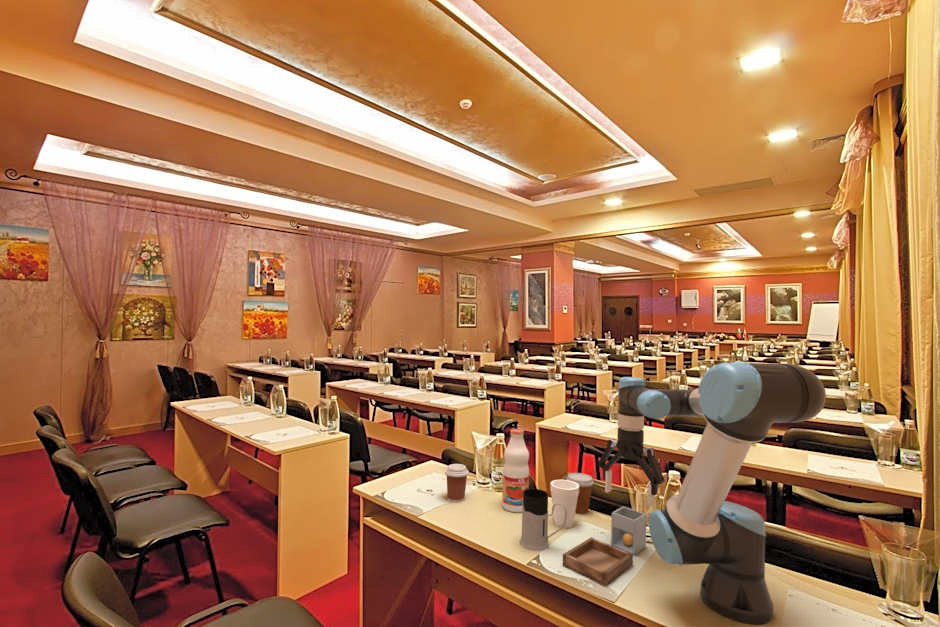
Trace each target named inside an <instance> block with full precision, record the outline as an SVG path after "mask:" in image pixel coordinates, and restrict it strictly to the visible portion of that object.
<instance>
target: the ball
mask: <svg viewBox="0 0 940 627" xmlns="http://www.w3.org/2000/svg"><path fill="white" fill-rule="evenodd" d="M622 539H623V542H624V544H626V545H628V546H630V545H632V544H633V537H632V536H631V535H630V534H625V535H624V536H623V538H622Z"/></svg>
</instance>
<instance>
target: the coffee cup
mask: <svg viewBox="0 0 940 627" xmlns="http://www.w3.org/2000/svg"><path fill="white" fill-rule="evenodd" d="M444 474H445V475H446V491H447V493H446V494H447V500H448V501H449V502H453V503H459V502H464V500H465V496H466V488H467V487H466V486H467V481H468V480H467V479H468V475H469V474H470V471H469V470H468V469H467V466H466V465H465V464H462V463H452V464H449V465H448V466H447V468H446V469H445V470H444Z"/></svg>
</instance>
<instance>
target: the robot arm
mask: <svg viewBox="0 0 940 627" xmlns="http://www.w3.org/2000/svg"><path fill="white" fill-rule="evenodd" d="M645 382H646V381H645V379H644V378H642V377H633V376H623V377H620V378H619V381H618V394H617V396H618V400H617V401H618V403H617V405H618V407H617V408H618V410H617V412H618V413H617V426H618V428H617V441H616V440H615V439H614V438H611V439H609V440H607V442H606V443H607V444H606V447H605V449H604V451H603V454H602V455H601V457H600V459H599V461H598V463H597V467H598V468H601V469H602V480H603V481H604V484H605V485H604V493H607V494H608V493H610V492H612V483H613V480H612V479H613V469H611V468H612V467H613V466H614V465H615V464H616V463H617V462H618V461H619V460H620V459H622V458H623V459H626V460H627V459H628V460H630V461H635V462H636V463H637V464H638V465H639V467H640V468H641V470H642V471H643V473H644V474H645V476H646V477H647V479H648V481H649V483H648V484H647V485H648V487H647V490H648V491H647V507H650V508H651V507H652V506H654V505H655V496H657V495H658V493H659V491H658V490H659V489H658V488H659V485H661V484H663V483H664V482H666V480H665V477H664V474H663V472H662V470H661V468H660V465H659V463H658V461H657V459H656V454H655V449H654V447H649V448H648V447H645V446H644V436H645V432H644V428H645V417H647V418H649V419H655V420H660V419H664V418H665V417H697V418H704V420H705V422H706V425H705V428H704V430H703V433H702V435H701V438H700V441H699V443H698V445H697V448H696V449H695V453H694V454H693V457H692V460H691V462H690V464H689V467H688V470H687V472H686V475H685V476H684V479H683V482H682V485H681V487H680V490H679V492H678V493H677V494H674V495H672V496H670V497H669V498H668V499H667V501H666V504H665V506H664V509H662V510H661V509H656V510H652V511H651V512H650V513H649V516H648V529H649V531H648V532H649V533H650V534H649V535H650V539H651V542H652V545H653V547H654V549H655V552H656V553H657V555H658V556H659V558H660V559H661V560H662V561H663V562H665V563H667V564H668V565H679V566H684V565H685V566H686V565H687V566H689V565H707V564H708V565H707V567H706V570H705V572H704V574H703V577H702V580H701V582H700V591H699V592H700V597H701V599H702V601H703V602H704V603H705V604H706V605H707V606H708V607H709V608H710V609H712V610H713V611H715V612H716V613H718V614H720V615H722V616H724V617H726V618H728V619H732V620H734V621H737V622H741V623H745V624H751V625H752V624H753V625H763V624H767V623H769V622H771V621H772V620H773V618H774V603H773V601H772V598H771V595H770V592H769V588H768V584H767V581H766V579H765V578H766V576H765V575H766V574H765V572H766V571H765V570H766V537H767V534H766V525H765V524H766V522H765V519H764V518H763V516H762V515H761V514H759V512H756V511H755V510H753V509H751V508H749V507H747V506H744V505H741V504H738V503H735V502H731V501H728V500H726V498H727V497H728V494H729V492H730V491H731V488H732V486H733V484H734V482H735V480H736V478H737V475H738V473H739V472H740V469H741V467H742V465H743V463H744V461H745V460H746V457H747V454H748V452H749V450H750V449H751V446H752V444H753V443H754V444H755V443H760V442H762V441H764V439H765V438H766V437H767V435H768V432H770V429H771V427H772V425H773V424H775V423H776V424H779V423H780V424H787V423H788V424H790V423H791V424H793V423H794V424H795V423H802V422H806V421H809V420H811V419H813V418H815V417H817V415H818V414H820V413H821V412H822V410H823V409H824V407H825V405H826V400H827V392H826V389H825V387H824V386H825V385H824V383H823V381H822V380H821V379H820V378H819V377H818V376H817V375H816V374H815V373H814V372H812V371H811V370H809V369H807V368H806V367H803V366H801V365H797V364H793V363H765V362H764V363H761V362H760V363H759V362H754V363H753V362H745V361H731V362H721V363H718V364H715V365H712V366H711V367H710V368H708V369H707V370H706V371H705V372H704V374H703V375H702V377H701V379H700V382H699V385H698V388H692V389H670V388H669V389H668V388H666V389H664V388H663V389H662V388H661V389H660V388H658V389H657V388H649V387H648V388H647V387H646V383H645ZM615 448H616V449H617V452H616V453H615V454H614V456H612V458H610V455H611V453H612V452H613V450H614V449H615ZM643 454H645V456H646V458H647V461H648V462H647V461H646V458H645V457H644V455H643ZM609 458H610V459H609ZM608 459H609V460H608ZM607 460H608V461H607ZM649 465H650V466H649Z"/></svg>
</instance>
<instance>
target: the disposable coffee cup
mask: <svg viewBox="0 0 940 627" xmlns="http://www.w3.org/2000/svg"><path fill="white" fill-rule="evenodd" d="M566 480H569V481H573V482H575V483H577V484H578V485H579V495H578V498H577V505H576V511H575V514H579V515H581V514H583V515H584V514H587V513H589V510H590V509H589V507H590V502H591V495H592V489H593V485H594V482H595V481H594V480H593V477H592V476H591V475H589V474H587V473H581V472H571V473H569V474H567V477H566Z"/></svg>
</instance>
